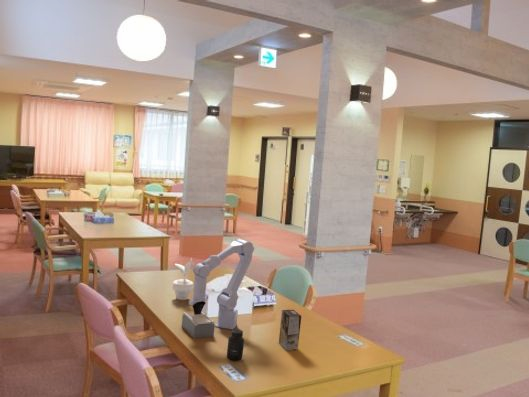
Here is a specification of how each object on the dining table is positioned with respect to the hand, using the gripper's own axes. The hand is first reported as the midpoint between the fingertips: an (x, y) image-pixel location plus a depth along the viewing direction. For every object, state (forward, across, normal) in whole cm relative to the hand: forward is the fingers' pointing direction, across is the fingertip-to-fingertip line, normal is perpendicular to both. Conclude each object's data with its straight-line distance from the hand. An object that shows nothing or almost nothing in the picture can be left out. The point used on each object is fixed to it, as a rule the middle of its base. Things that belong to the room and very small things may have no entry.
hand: (197, 316), depth 236 cm
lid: (+1, -3, -4) cm, 5 cm away
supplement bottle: (+7, -18, -30) cm, 36 cm away
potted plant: (+7, +36, +32) cm, 49 cm away
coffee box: (+7, +9, -44) cm, 46 cm away
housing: (+7, -1, -1) cm, 7 cm away
